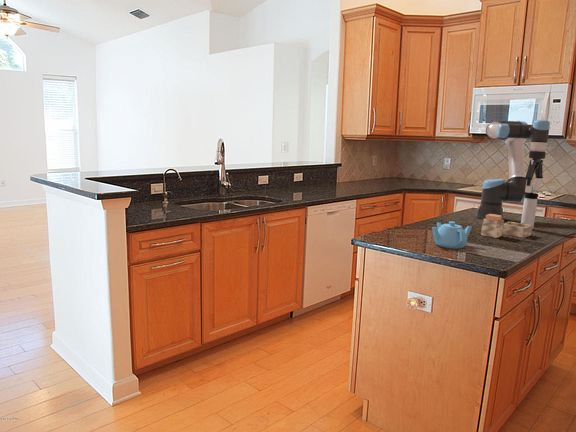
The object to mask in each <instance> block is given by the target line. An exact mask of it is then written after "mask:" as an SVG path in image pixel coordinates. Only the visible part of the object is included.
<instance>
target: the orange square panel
mask: <svg viewBox="0 0 576 432" xmlns="http://www.w3.org/2000/svg"><path fill="white" fill-rule="evenodd" d="M501 218H502V216H501V215H495V214H488V215H486V218H485V220H491V221H497V222H498V221H501Z"/></svg>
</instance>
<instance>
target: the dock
mask: <svg viewBox="0 0 576 432" xmlns="http://www.w3.org/2000/svg"><path fill="white" fill-rule="evenodd" d="M532 231H533V230H532V225H527V224H521V222H520V223H519V222H514V221H507V222H505V220H504V219H503V220H501V221H498V222H497V221H491V220H485V219H482V223H481V231H480V236H483V237H484V236H485V237H489V238H495V239H497V238H499V237H502V236H503V235H505V236H510V237H511V236H512V237H517V238H523V239H525V238H527V237H530V236H532Z"/></svg>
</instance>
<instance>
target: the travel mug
mask: <svg viewBox="0 0 576 432" xmlns="http://www.w3.org/2000/svg"><path fill="white" fill-rule="evenodd" d="M538 197H539V193H535V192H532V193H525V198H524V203H523V205H522V211H521V212H522V213H521V219H520V223H521V224H527V225H532V231H533V230H534V226H535V220H536V211H537V206H538Z"/></svg>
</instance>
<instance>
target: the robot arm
mask: <svg viewBox="0 0 576 432" xmlns="http://www.w3.org/2000/svg"><path fill="white" fill-rule="evenodd" d="M550 123H551V122H550V121H549V120H537V119H536V120H534V121H533V124H528V122H526V121H520V120H515V121H514V120H494V121H492V122H490V123H489V124H487V125H486V127H485V133H486V135H487V136H488V137H489V138H491V139H494V140H500V141H504V144H505V145H506V146H507V159H508V179H505V178H489V179H485V180H484V181H483V184H482V187H481V189H482V190H481V198H480V199H481V200H480V205H479V207H478V209H477V211H476V213H475V217H476V218H477V219H480V220H481V219H482V220H483V219H485V218H486V215H488V214H495V215H501V216H502V218H501V220H504V217H505V215H504V210H503V202H506V203H507V202H508V203H519V204H521V203H523V204H524V198H525V193H534V192H533V191H538V192H539V191H540V188H541V179H542V180H543V179H544V177H543V174H544V173H543V169H544V168H543V166H544V163H543V162H544V160H545V158H546V154H547V153H546V151H547V147H548V146H549V145H548V139H549V134H550V128H551V127H550ZM527 140H531V141H530V146H529V150H530V151H528V152H529V155H528V157H529V158H528V159H530V160H529V164H528V168H527V171H526V168H525V167H526V165H525V163H526V162H525V150H524V149H525V148H524V147H525V146H524V145H525V143H526V141H527ZM534 176H535V177H534ZM533 181H534V182H533Z"/></svg>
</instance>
